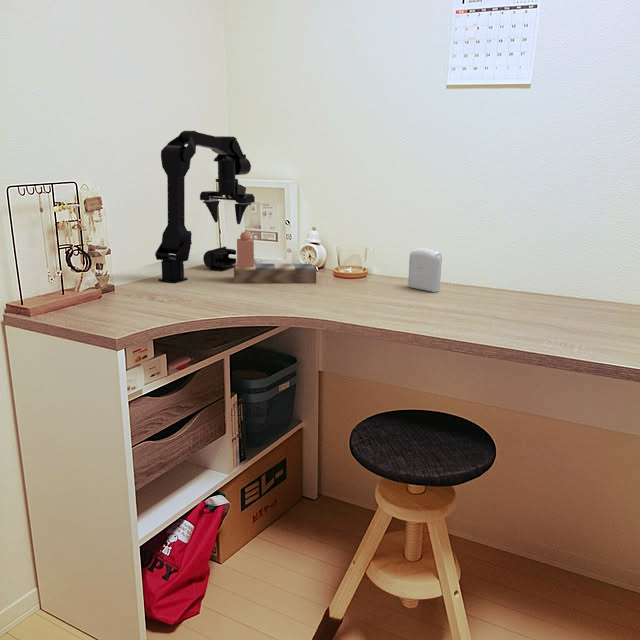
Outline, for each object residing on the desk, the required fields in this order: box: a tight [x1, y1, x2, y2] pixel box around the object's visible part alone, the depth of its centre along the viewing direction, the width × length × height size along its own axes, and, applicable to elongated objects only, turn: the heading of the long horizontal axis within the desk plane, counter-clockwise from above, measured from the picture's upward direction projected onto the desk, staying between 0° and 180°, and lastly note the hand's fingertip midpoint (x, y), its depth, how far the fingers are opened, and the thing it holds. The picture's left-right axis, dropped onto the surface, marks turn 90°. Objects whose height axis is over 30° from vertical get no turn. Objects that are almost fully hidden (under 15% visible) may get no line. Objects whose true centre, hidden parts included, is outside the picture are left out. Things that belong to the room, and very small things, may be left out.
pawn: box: [236, 231, 255, 267], centre depth 198 cm, size 5×5×10 cm
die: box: [254, 258, 264, 264], centre depth 213 cm, size 4×4×4 cm
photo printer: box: [407, 247, 443, 293], centre depth 193 cm, size 10×4×12 cm, turn 44°
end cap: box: [203, 246, 237, 272], centre depth 218 cm, size 10×7×7 cm
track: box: [233, 262, 317, 284], centre depth 201 cm, size 25×9×4 cm, turn 97°
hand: (227, 223), depth 219 cm, fingers open, 9 cm apart
